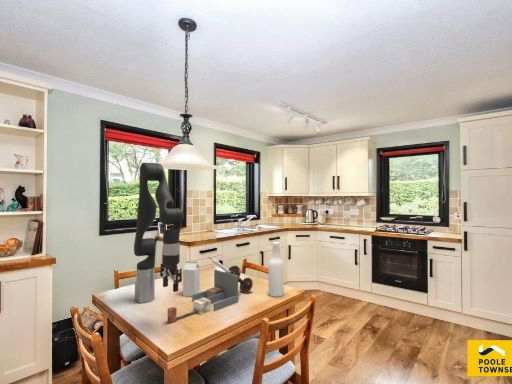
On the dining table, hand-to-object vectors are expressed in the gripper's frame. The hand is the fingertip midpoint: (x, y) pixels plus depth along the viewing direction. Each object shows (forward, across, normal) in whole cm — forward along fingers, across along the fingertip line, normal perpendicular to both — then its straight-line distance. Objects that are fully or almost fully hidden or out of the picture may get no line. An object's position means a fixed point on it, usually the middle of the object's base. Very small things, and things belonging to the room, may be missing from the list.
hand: (170, 289), depth 125 cm
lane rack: (+15, -4, +29) cm, 33 cm away
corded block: (+15, 0, +10) cm, 18 cm away
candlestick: (+12, -3, +52) cm, 54 cm away
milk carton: (+16, -23, +27) cm, 39 cm away
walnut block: (+15, -8, +32) cm, 37 cm away
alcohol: (+15, +13, +60) cm, 64 cm away
